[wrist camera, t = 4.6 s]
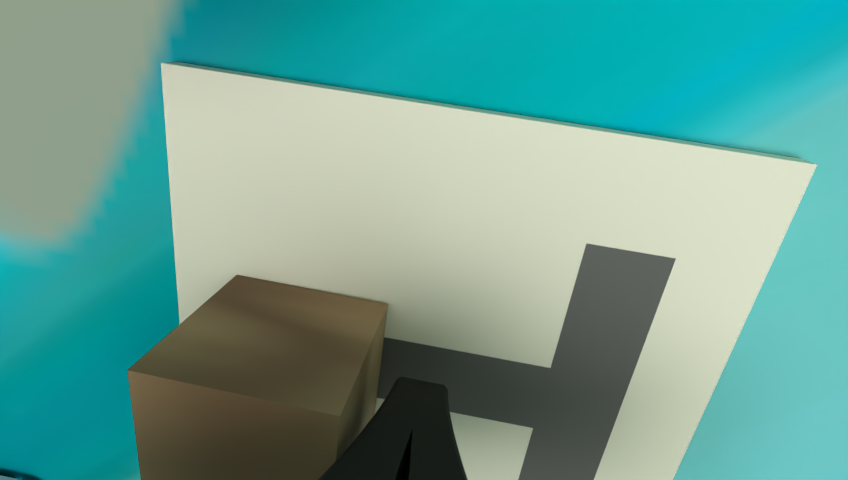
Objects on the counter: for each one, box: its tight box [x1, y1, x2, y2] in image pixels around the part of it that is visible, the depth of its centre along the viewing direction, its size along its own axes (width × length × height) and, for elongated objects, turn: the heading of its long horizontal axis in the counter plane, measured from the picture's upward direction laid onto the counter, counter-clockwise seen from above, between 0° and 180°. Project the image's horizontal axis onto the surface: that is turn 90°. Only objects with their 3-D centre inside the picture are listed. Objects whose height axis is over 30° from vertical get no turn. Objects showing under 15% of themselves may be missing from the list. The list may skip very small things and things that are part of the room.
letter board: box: [161, 62, 817, 480], centre depth 13 cm, size 14×14×1 cm
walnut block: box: [127, 275, 388, 480], centre depth 11 cm, size 4×4×4 cm
